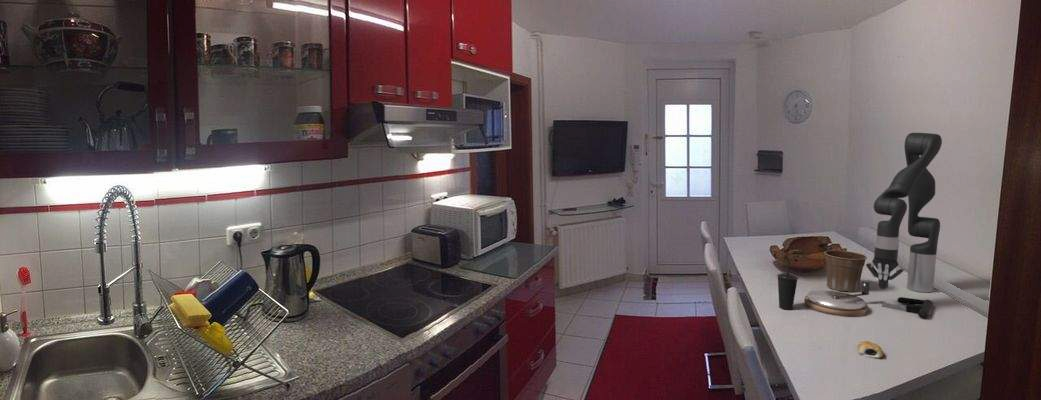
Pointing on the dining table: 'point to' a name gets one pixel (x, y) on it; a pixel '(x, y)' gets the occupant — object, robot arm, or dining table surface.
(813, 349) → the dining table surface
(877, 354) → the pastry
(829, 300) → the dial
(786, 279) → the drinking cup
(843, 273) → the plant pot
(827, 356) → the dining table surface
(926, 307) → the door handle
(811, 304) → the dial base
